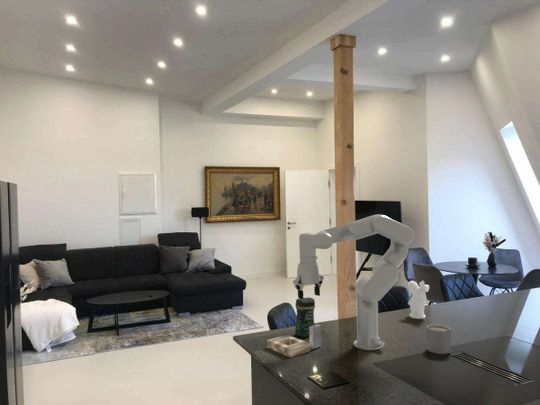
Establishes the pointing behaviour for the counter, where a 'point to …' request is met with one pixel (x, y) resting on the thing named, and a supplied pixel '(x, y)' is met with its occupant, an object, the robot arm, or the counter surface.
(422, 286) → the cherub figurine
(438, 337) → the coffee mug
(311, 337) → the bracket
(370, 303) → the robot arm
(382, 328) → the counter surface
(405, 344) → the counter surface
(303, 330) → the coffee jar
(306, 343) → the block
